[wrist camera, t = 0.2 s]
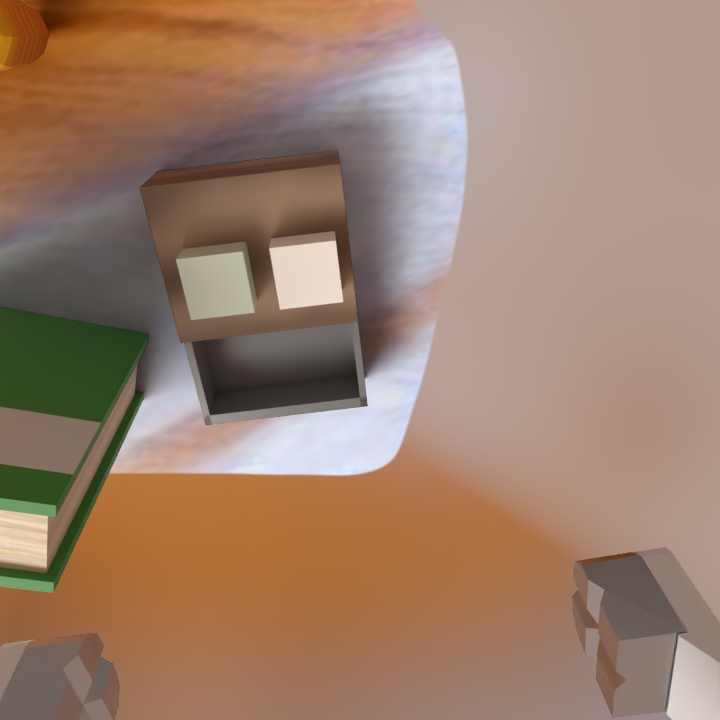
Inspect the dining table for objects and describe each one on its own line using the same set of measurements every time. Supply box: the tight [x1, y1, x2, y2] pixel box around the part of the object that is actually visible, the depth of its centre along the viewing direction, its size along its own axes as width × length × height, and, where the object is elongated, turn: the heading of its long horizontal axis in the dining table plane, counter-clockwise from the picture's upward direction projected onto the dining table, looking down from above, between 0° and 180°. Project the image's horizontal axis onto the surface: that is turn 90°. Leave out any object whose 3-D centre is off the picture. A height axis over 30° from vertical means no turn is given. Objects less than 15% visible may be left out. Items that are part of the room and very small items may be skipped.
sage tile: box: [176, 242, 257, 320], centre depth 50 cm, size 5×5×2 cm
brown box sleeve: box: [140, 150, 358, 343], centre depth 53 cm, size 13×15×6 cm
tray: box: [184, 322, 368, 425], centre depth 58 cm, size 9×15×5 cm, turn 96°
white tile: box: [269, 231, 343, 310], centre depth 50 cm, size 5×5×2 cm
